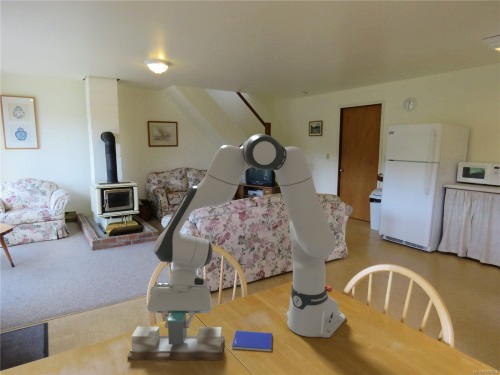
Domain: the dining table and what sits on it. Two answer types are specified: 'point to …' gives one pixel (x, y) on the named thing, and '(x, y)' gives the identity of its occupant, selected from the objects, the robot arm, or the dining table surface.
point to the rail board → (176, 345)
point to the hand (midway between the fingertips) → (177, 327)
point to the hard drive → (252, 341)
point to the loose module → (177, 327)
